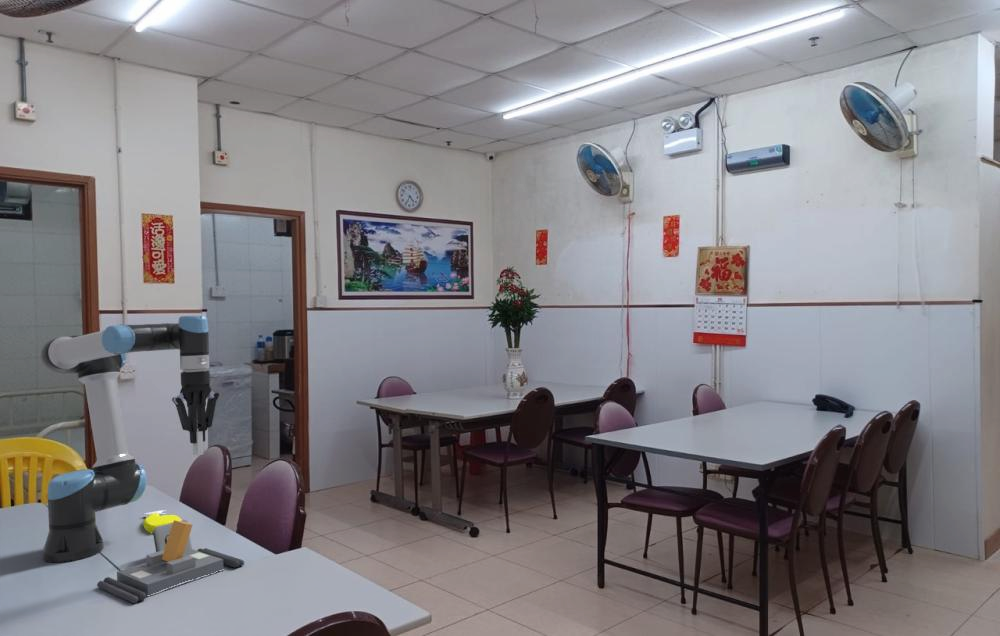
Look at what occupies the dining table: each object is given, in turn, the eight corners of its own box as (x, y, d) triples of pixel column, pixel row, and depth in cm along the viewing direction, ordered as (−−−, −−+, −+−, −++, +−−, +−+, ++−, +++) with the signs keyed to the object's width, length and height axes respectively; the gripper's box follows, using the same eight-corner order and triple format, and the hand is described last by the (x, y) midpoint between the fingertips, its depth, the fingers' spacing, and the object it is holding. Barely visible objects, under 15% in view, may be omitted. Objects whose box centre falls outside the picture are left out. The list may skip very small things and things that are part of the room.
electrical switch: (160, 561, 192) (157, 528, 193) (151, 559, 196) (149, 526, 196) (192, 552, 200) (190, 519, 200) (184, 550, 203) (181, 518, 203)
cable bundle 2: (196, 556, 195) (196, 549, 195) (207, 553, 198) (207, 546, 198) (234, 569, 184) (234, 562, 184) (246, 565, 187) (245, 558, 187)
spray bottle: (148, 536, 217) (135, 520, 236) (186, 529, 223) (170, 514, 243) (148, 527, 217) (135, 512, 236) (185, 520, 223) (169, 506, 243)
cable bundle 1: (97, 588, 174) (96, 580, 174) (111, 583, 177) (111, 576, 177) (133, 605, 163) (133, 596, 163) (148, 600, 165) (147, 591, 165)
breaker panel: (117, 583, 177) (116, 562, 177) (191, 559, 193) (190, 540, 193) (148, 596, 167) (147, 574, 167) (223, 570, 183) (222, 550, 183)
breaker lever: (160, 561, 181) (173, 520, 184) (167, 561, 183) (180, 521, 186) (173, 566, 177) (186, 523, 180) (180, 566, 179) (193, 524, 182)
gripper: (179, 372, 186) (182, 460, 186) (224, 368, 196) (227, 451, 196) (165, 372, 190) (168, 457, 190) (209, 368, 201) (212, 449, 201)
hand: (198, 454), depth 193 cm, fingers closed
